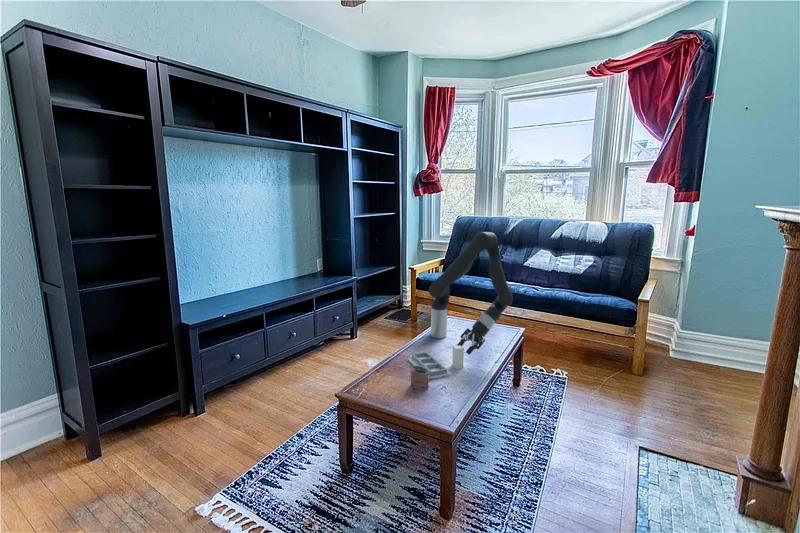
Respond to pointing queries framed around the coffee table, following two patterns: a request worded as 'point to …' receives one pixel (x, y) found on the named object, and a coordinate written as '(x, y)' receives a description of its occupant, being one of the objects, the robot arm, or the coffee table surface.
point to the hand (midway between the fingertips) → (462, 350)
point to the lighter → (419, 377)
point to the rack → (429, 365)
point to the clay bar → (458, 356)
